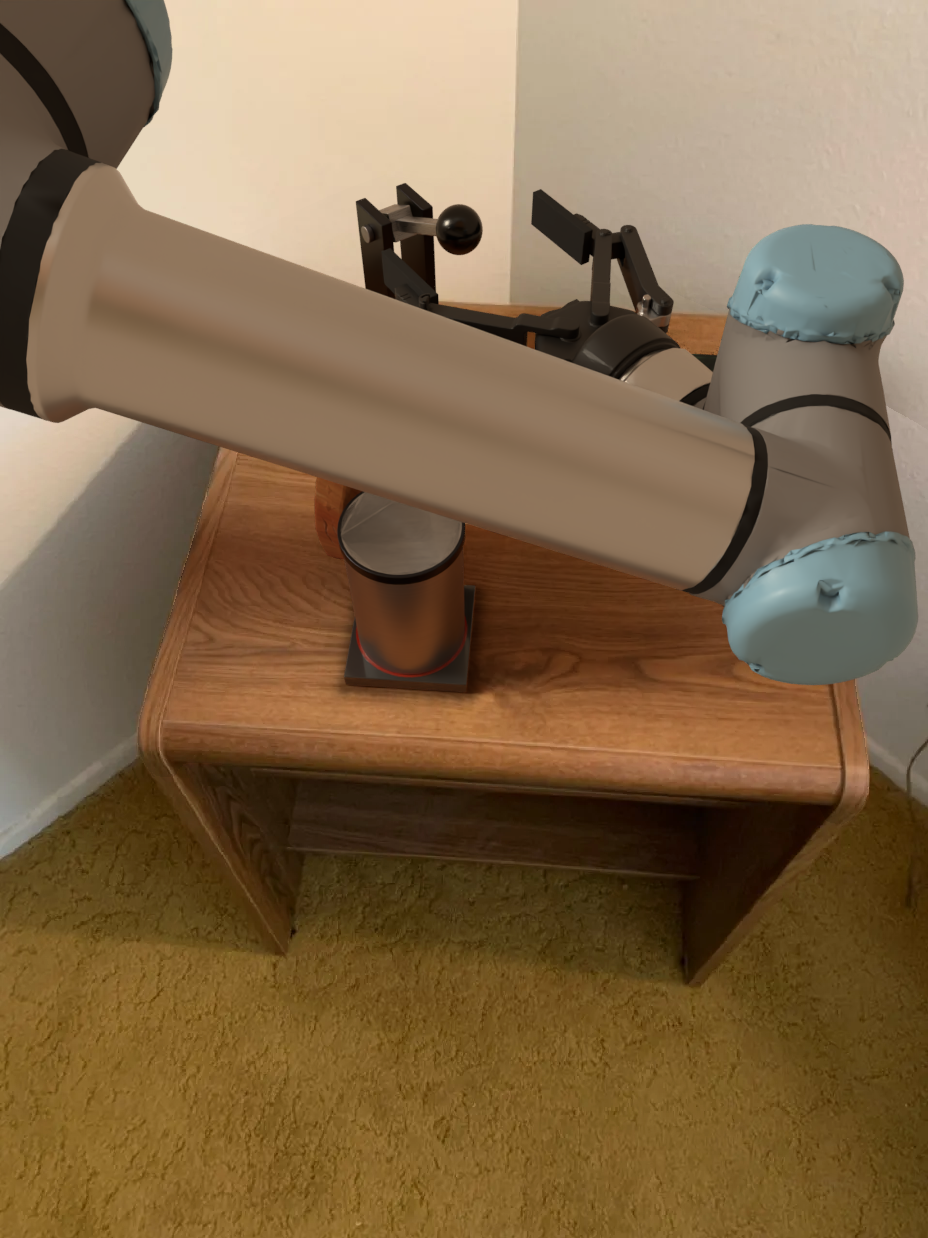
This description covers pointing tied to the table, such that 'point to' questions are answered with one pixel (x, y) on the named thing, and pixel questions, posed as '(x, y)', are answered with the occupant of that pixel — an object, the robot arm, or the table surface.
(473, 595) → the hob
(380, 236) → the switch
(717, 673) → the table surface
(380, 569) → the lidded metal tumbler
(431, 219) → the lever
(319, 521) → the mug
